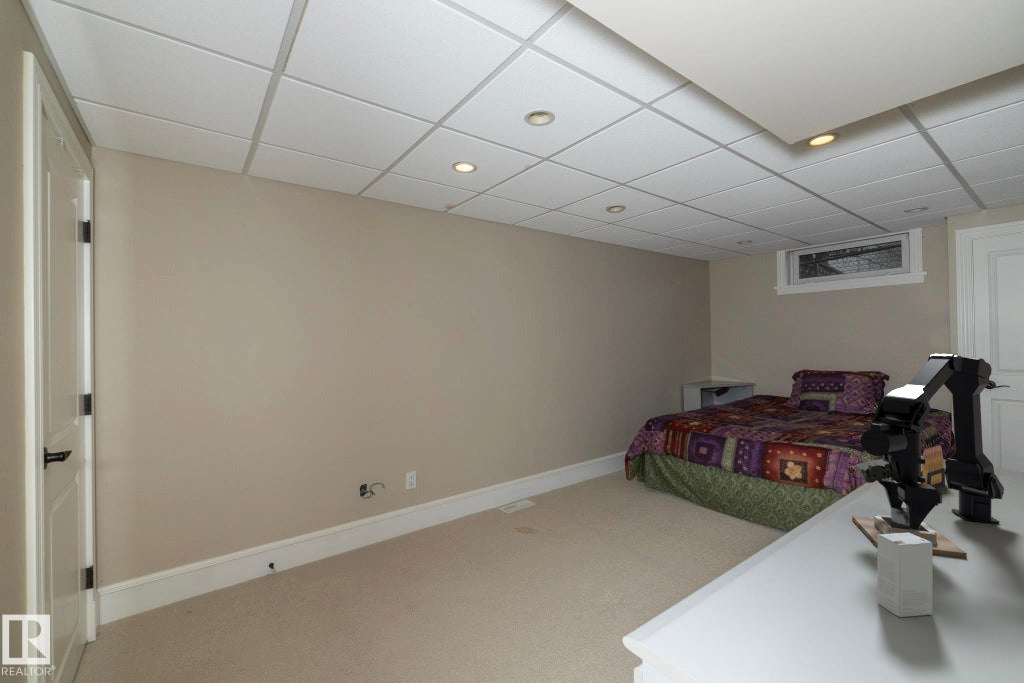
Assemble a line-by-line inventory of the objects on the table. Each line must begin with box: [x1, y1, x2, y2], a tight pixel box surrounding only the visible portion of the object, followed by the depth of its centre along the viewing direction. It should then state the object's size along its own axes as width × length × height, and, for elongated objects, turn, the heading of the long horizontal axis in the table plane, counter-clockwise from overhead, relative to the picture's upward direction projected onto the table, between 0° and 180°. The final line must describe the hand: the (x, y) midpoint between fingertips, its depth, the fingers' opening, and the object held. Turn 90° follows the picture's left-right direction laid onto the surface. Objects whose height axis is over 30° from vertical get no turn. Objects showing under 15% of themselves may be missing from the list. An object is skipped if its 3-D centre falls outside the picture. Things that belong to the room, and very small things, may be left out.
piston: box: [890, 506, 918, 531], centre depth 101 cm, size 4×4×5 cm
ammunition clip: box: [920, 444, 946, 489], centre depth 134 cm, size 11×2×12 cm, turn 117°
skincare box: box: [876, 533, 933, 618], centre depth 75 cm, size 6×4×12 cm
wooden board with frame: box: [851, 513, 968, 559], centre depth 101 cm, size 15×15×3 cm
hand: (904, 520), depth 101 cm, fingers open, 9 cm apart
